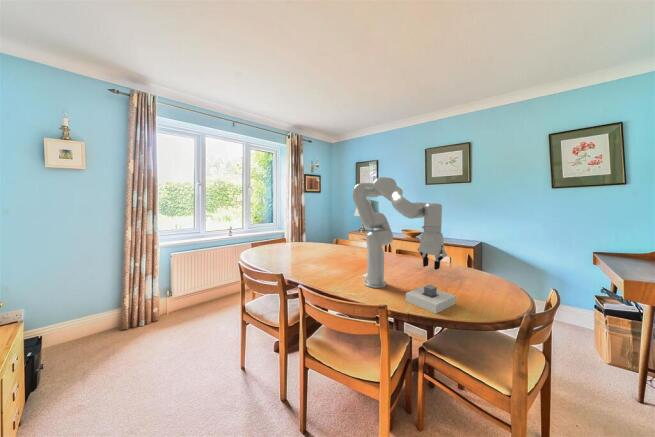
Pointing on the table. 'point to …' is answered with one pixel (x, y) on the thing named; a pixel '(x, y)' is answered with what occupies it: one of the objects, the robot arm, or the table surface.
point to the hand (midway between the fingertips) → (431, 267)
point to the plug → (430, 291)
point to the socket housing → (430, 300)
